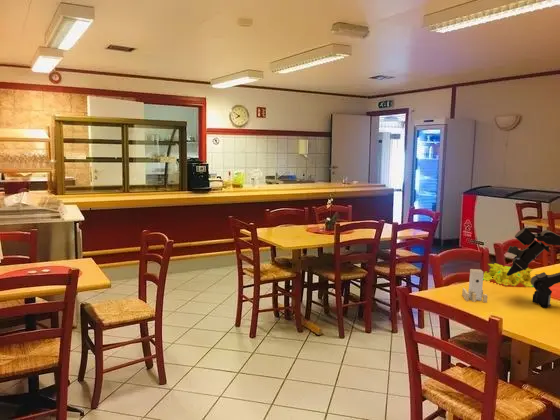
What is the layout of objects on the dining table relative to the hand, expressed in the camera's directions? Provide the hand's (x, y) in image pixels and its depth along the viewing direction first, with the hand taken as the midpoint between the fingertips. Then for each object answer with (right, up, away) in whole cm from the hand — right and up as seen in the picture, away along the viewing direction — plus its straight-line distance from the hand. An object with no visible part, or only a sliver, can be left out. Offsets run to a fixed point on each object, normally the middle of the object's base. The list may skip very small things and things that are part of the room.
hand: (507, 275), depth 223 cm
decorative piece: (+21, -9, +40) cm, 46 cm away
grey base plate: (-11, -13, +2) cm, 17 cm away
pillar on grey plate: (-14, -12, +3) cm, 19 cm away
